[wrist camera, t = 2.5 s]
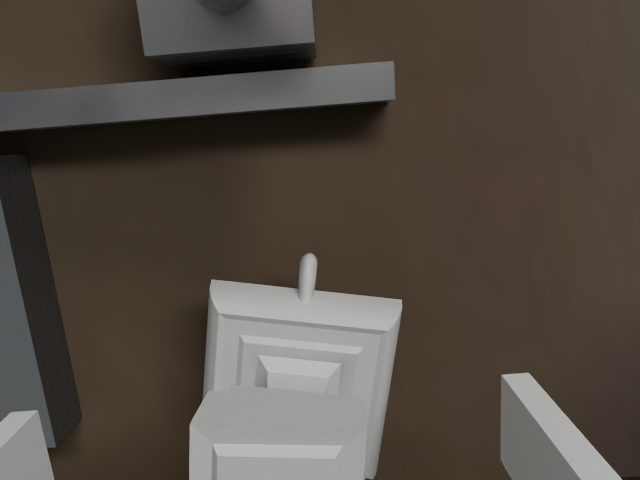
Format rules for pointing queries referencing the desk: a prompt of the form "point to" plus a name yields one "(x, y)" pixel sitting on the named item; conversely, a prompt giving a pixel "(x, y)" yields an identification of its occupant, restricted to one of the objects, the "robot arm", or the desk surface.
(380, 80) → the lever guide
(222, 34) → the lever
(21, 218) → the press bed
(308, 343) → the stamp
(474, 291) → the desk surface
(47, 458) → the robot arm
